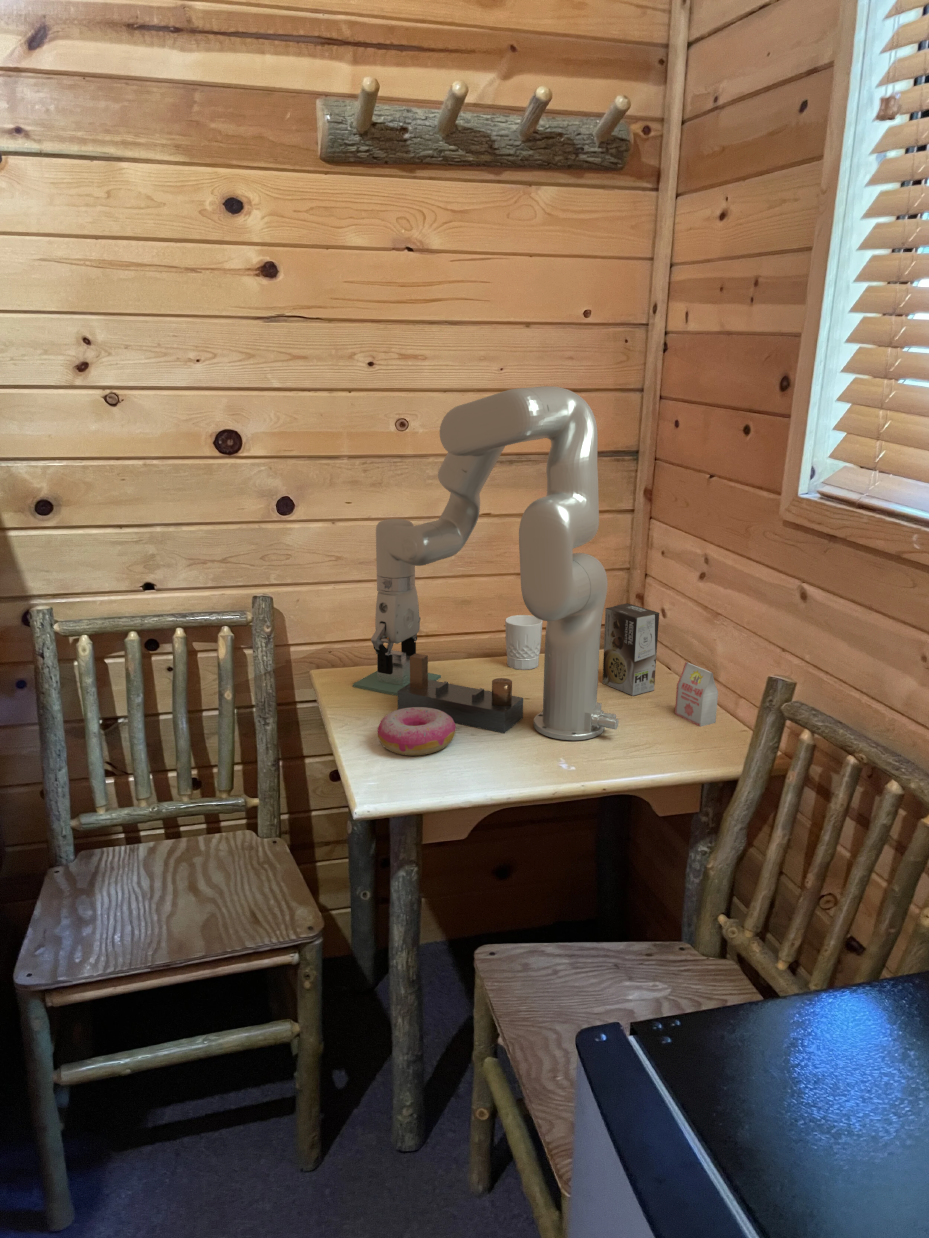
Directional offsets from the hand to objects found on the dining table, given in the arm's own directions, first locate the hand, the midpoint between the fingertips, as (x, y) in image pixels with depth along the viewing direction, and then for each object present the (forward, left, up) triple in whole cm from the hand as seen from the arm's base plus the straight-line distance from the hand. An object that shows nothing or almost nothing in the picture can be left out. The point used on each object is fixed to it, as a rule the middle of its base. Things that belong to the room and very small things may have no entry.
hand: (397, 666), depth 186 cm
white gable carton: (-58, -10, -4) cm, 59 cm away
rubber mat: (0, 0, -3) cm, 3 cm away
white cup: (-18, -22, -4) cm, 29 cm away
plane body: (-19, +9, -3) cm, 21 cm away
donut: (-18, +24, -4) cm, 30 cm away
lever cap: (0, 0, -3) cm, 3 cm away
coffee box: (-42, -20, -4) cm, 47 cm away
